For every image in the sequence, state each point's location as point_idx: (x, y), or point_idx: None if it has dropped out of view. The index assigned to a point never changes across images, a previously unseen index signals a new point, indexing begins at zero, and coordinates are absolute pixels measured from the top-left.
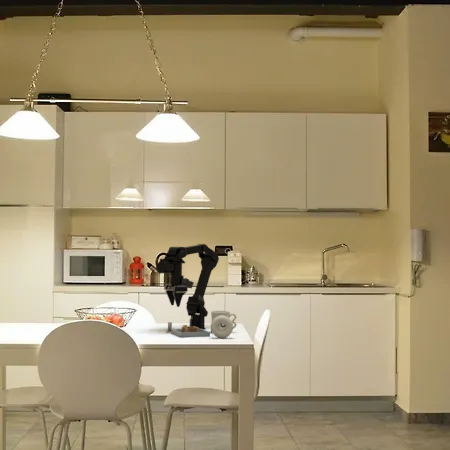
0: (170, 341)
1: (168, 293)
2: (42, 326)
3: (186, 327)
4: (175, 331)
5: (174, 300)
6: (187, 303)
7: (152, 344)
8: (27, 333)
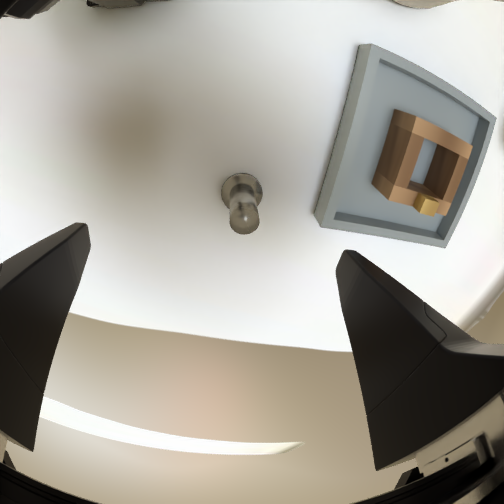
0: (460, 294)
1: (31, 405)
2: (49, 404)
3: (432, 198)
4: (391, 237)
5: (50, 251)
6: (10, 2)
7: None
8: (159, 440)
